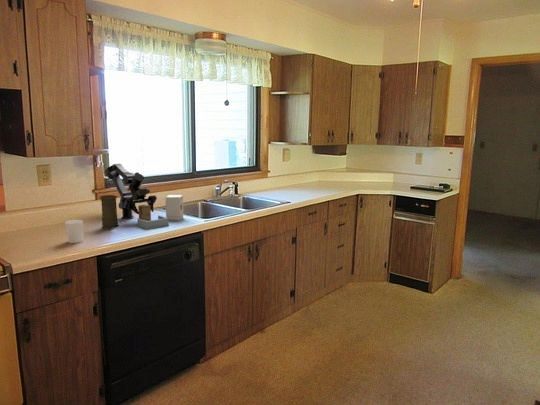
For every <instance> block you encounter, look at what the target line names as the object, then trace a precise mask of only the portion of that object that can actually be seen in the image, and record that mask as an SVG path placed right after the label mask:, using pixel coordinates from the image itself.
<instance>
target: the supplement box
mask: <svg viewBox="0 0 540 405" xmlns="http://www.w3.org/2000/svg"><path fill="white" fill-rule="evenodd" d="M165 217H166V218H168V221H182V220H183V219H184V195H183V194H168V195H167V196H165Z"/></svg>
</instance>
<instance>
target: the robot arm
mask: <svg viewBox="0 0 540 405" xmlns="http://www.w3.org/2000/svg"><path fill="white" fill-rule="evenodd" d="M104 174H105V175H106V177H107V179H109V180H111V181H112V182H113V184H114V187H115V188H116V190H117V192H118V193H119V196H120V198H119V203H118V206H117V207H118V209H119V210H120V209H121V212H122V216H120V217H121V218H120V219H133V218H134V215H133V212H134V213H135V214H137V215H139V210H138V208H137V206H136V204H143V203H147V205H149V206H150V209H151V212H152V213H154V210H155V209H154V204H155V202H156V201H157V200H158V197H157V196H156V195H155V194H154V195H149V196H148V197H147V195H148V194H149V193H150V192H151V191H150V187H145V188H140V187H141V186H142V185H143V182H144V180H145V176H144V175H143V174H142V173H139V172H137V171H136V172H135V173H133V172H130V171H128V170H127V169H126V168H125V167H124V166H123V165H122V163H114V164H112V165H110V166H108V167H106V169H105V170H104ZM121 177H122V179H121ZM125 185H128V188H126V186H125ZM128 191H129V192H128ZM146 197H147V198H146Z"/></svg>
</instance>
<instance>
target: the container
mask: <svg viewBox="0 0 540 405" xmlns="http://www.w3.org/2000/svg"><path fill="white" fill-rule="evenodd" d="M99 199H100V202H101V216H102V218H101V219H102V220H101V221H102V223H101V225H102V226H101V229H102V230H113V229H114V228H115V229H116V228H118V227H119V226H120V225H119V222H118V211H117V207H118V206H117V195H115V194H112V195H111V194H108V195H101V196H100V198H99Z"/></svg>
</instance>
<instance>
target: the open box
mask: <svg viewBox="0 0 540 405" xmlns="http://www.w3.org/2000/svg"><path fill="white" fill-rule="evenodd" d="M169 224H170V222H169V220H168V218H166V216H162V215H157V219H154V220H152V219H151V221H145V220H142V219H139V217H138V218H137V227H140V228H142V229H145V230H151V229H157V228H163V227H168V226H169Z"/></svg>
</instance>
